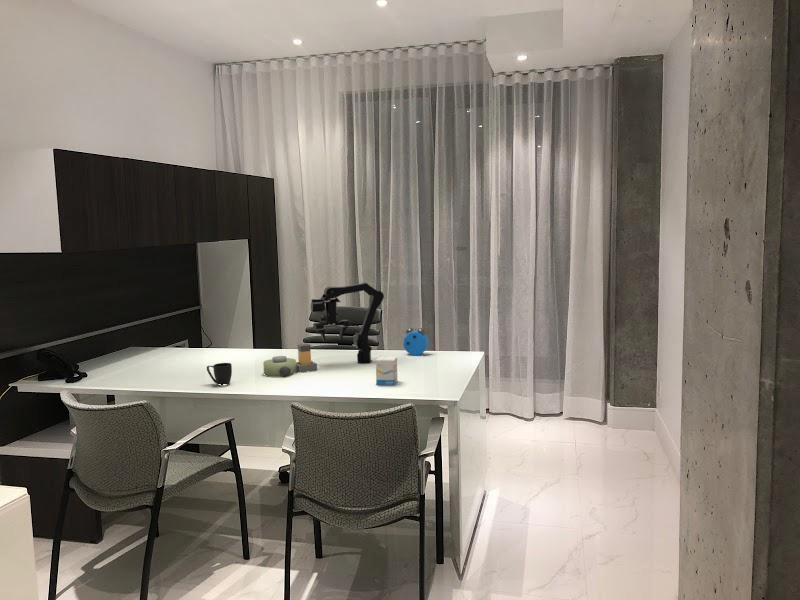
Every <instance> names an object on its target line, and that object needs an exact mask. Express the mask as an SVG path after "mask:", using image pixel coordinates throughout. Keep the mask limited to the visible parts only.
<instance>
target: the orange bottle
mask: <svg viewBox="0 0 800 600" xmlns="http://www.w3.org/2000/svg"><path fill="white" fill-rule="evenodd" d="M311 350H312V349H311V345H310V344H309V343H302V344H301V343H300V344H297V353H298V355H297V356H298V357H297V358H298V362H299V365H306V364H311V361H312V355H311V353H312V351H311Z"/></svg>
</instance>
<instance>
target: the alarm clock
mask: <svg viewBox="0 0 800 600" xmlns="http://www.w3.org/2000/svg"><path fill="white" fill-rule="evenodd" d="M426 333H427V331H426V329H424V328H423V327H420V328H418V329H417V328H415V329H414V328H413V327H408V328H406V329H405V335H406V336H404V338H403V342H402V343H403V348H404V350H405V351H406V352H407V353H408V354H409V355H412V356H420V355H422V354H424V352H426V350H427V349H428V347H429V338H428V336H427V335H426Z"/></svg>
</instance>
